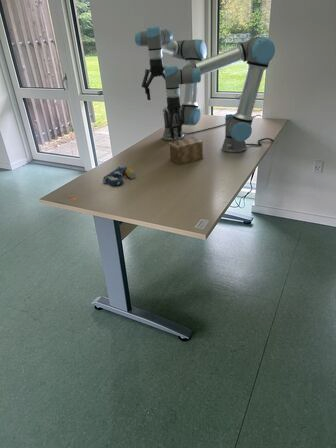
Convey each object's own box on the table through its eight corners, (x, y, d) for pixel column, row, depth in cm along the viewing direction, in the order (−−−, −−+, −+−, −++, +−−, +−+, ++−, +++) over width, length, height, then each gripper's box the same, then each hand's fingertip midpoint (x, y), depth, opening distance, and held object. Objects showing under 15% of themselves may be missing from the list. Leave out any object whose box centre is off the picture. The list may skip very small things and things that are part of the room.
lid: (177, 149, 196) (176, 134, 192) (168, 144, 205) (167, 130, 201) (202, 143, 203) (202, 128, 198) (192, 138, 212) (192, 124, 207)
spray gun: (141, 172, 194) (120, 170, 201) (140, 166, 192) (119, 164, 199) (122, 188, 179) (100, 185, 185) (121, 181, 177) (98, 178, 183)
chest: (179, 164, 202) (178, 149, 197) (170, 159, 211) (169, 144, 206) (202, 158, 208) (202, 143, 203) (193, 153, 217) (192, 138, 212)
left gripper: (138, 61, 180) (142, 102, 191) (178, 56, 189) (180, 95, 200) (132, 60, 186) (137, 100, 197) (172, 55, 195) (174, 93, 206)
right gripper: (162, 99, 181) (166, 142, 193) (189, 94, 187) (191, 136, 199) (156, 97, 187) (160, 139, 199) (183, 93, 193) (185, 133, 205)
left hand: (159, 98), depth 199 cm, fingers open, 13 cm apart
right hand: (175, 137), depth 199 cm, fingers open, 4 cm apart
